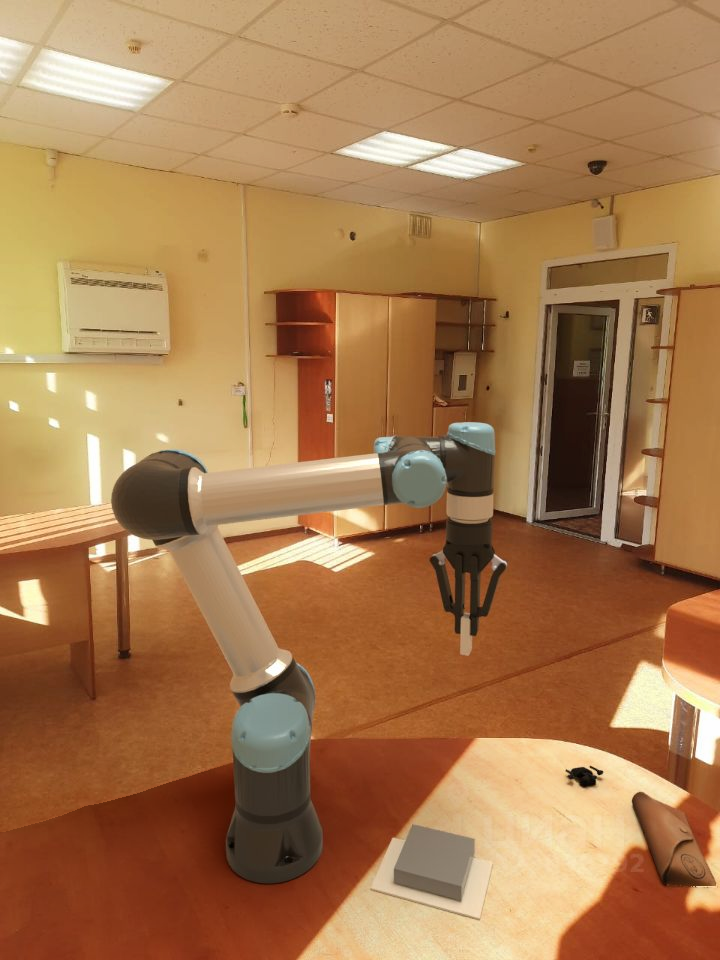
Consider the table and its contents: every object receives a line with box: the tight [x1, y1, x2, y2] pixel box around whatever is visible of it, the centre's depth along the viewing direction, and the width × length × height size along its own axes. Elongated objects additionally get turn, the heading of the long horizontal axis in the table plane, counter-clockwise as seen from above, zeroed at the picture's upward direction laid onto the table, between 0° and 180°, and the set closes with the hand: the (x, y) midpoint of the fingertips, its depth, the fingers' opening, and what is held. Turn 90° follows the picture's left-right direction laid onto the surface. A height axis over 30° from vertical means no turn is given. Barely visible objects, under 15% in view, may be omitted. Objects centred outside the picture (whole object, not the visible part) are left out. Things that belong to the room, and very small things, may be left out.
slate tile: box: [394, 823, 476, 901], centre depth 103 cm, size 10×3×10 cm
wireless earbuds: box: [565, 765, 604, 788], centre depth 124 cm, size 7×2×5 cm
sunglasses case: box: [631, 791, 717, 888], centre depth 109 cm, size 18×7×7 cm
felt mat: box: [369, 837, 494, 921], centre depth 102 cm, size 16×11×1 cm
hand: (466, 651), depth 117 cm, fingers closed
